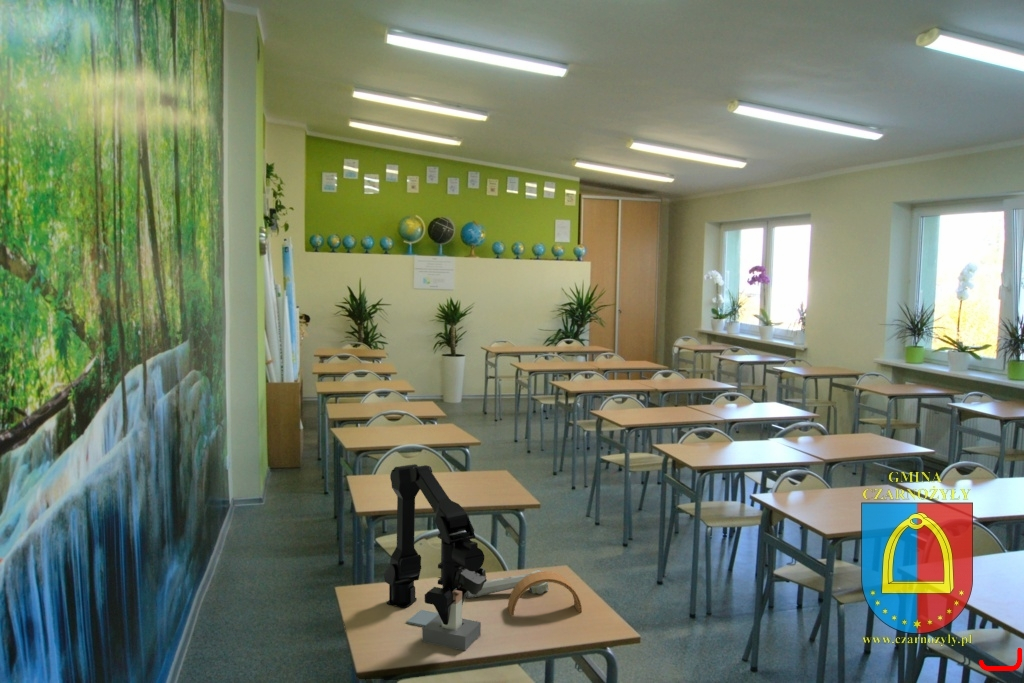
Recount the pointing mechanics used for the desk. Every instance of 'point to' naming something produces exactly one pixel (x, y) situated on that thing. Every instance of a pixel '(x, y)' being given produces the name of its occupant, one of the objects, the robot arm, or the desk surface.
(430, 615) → the pad
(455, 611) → the plug
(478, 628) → the socket block
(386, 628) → the desk surface
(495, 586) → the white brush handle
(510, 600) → the arch
